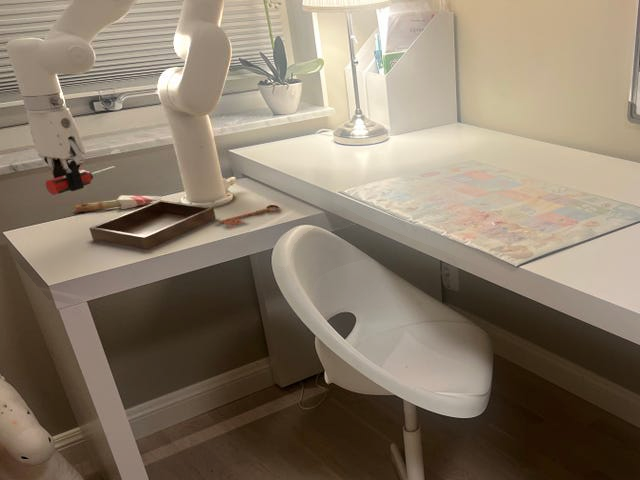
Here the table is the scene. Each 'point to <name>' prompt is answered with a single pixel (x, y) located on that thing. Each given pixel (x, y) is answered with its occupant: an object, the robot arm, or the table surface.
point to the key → (237, 218)
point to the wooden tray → (152, 224)
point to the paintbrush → (118, 203)
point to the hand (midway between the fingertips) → (70, 187)
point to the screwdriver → (61, 184)
